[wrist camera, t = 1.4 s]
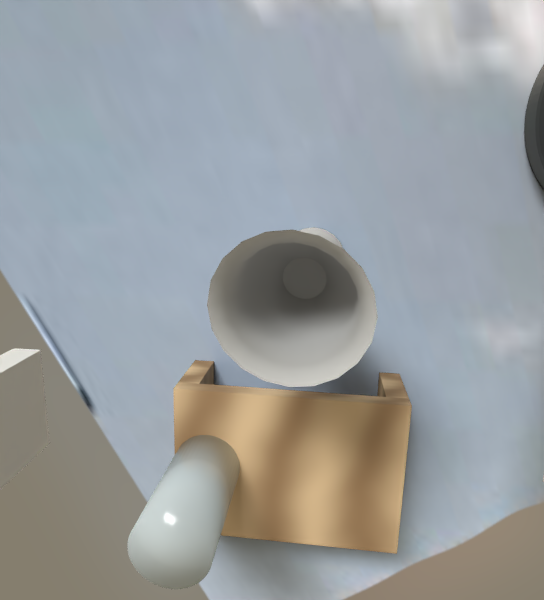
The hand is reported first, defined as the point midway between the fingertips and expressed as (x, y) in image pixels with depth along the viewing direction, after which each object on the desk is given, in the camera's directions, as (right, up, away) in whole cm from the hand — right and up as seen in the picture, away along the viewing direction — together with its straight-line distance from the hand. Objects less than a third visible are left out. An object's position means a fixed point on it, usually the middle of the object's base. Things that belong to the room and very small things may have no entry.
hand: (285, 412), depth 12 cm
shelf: (+1, -9, +29) cm, 31 cm away
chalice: (+3, +6, +26) cm, 27 cm away
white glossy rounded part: (-5, -10, +24) cm, 26 cm away
